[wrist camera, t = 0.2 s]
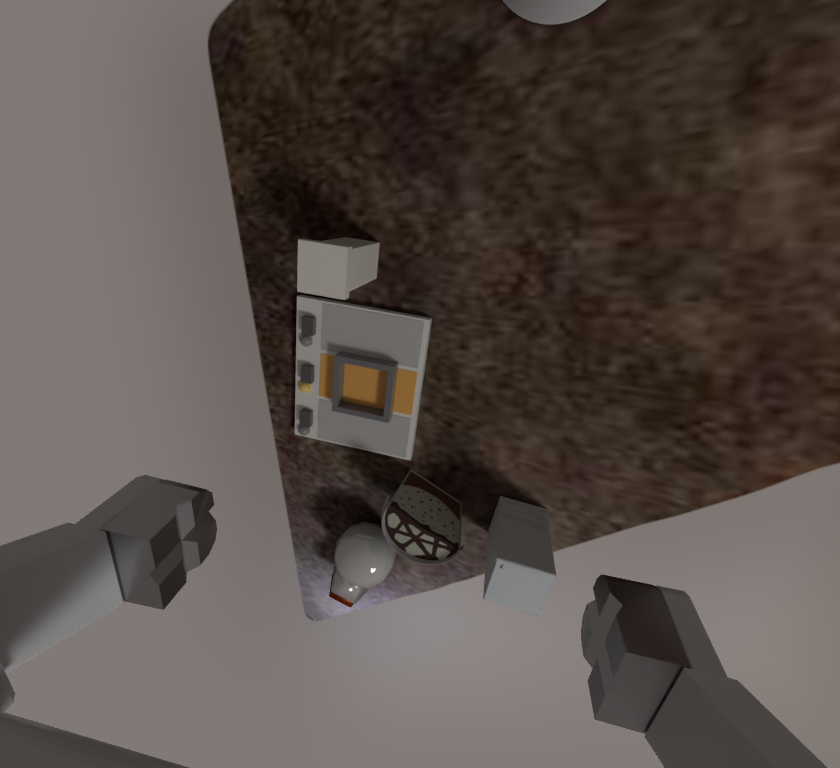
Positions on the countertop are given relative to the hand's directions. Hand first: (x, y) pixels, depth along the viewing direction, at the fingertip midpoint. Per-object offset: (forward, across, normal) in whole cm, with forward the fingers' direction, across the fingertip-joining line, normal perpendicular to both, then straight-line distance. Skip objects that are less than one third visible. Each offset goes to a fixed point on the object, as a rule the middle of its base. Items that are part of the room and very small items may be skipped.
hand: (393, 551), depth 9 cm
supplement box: (+46, -11, +37) cm, 60 cm away
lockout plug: (+48, +15, +2) cm, 50 cm away
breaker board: (+47, +15, +19) cm, 53 cm away
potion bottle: (+46, +11, +48) cm, 68 cm away
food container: (+46, +3, +36) cm, 59 cm away
